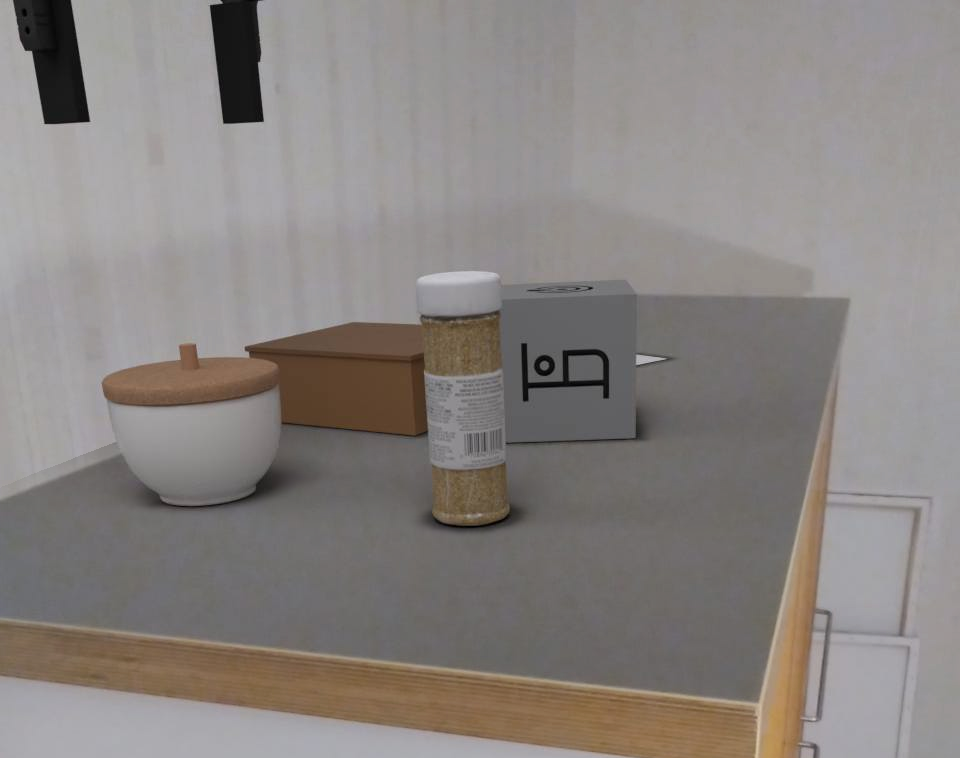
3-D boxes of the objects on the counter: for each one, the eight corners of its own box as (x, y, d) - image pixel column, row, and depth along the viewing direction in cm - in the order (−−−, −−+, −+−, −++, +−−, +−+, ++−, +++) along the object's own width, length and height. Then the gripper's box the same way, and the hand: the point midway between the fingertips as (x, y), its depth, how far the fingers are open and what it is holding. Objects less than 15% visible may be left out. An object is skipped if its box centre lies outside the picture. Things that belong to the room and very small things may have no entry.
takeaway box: (253, 420, 93) (244, 346, 90) (359, 388, 104) (353, 321, 101) (416, 436, 84) (410, 355, 82) (512, 400, 96) (509, 327, 93)
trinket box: (320, 475, 75) (305, 331, 71) (238, 522, 66) (216, 360, 62) (183, 468, 79) (162, 331, 75) (87, 512, 69) (58, 358, 66)
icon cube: (497, 442, 81) (491, 300, 77) (500, 414, 90) (495, 285, 86) (635, 438, 81) (636, 294, 77) (625, 409, 90) (625, 279, 86)
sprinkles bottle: (499, 502, 67) (490, 267, 62) (518, 523, 63) (510, 274, 58) (425, 510, 66) (408, 273, 61) (439, 532, 62) (423, 280, 57)
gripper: (-83, -471, 44) (23, 120, 53) (316, -291, 64) (347, 120, 72) (-189, -418, 48) (-74, 126, 56) (219, -263, 67) (259, 125, 76)
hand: (162, 124), depth 64 cm, fingers open, 13 cm apart
